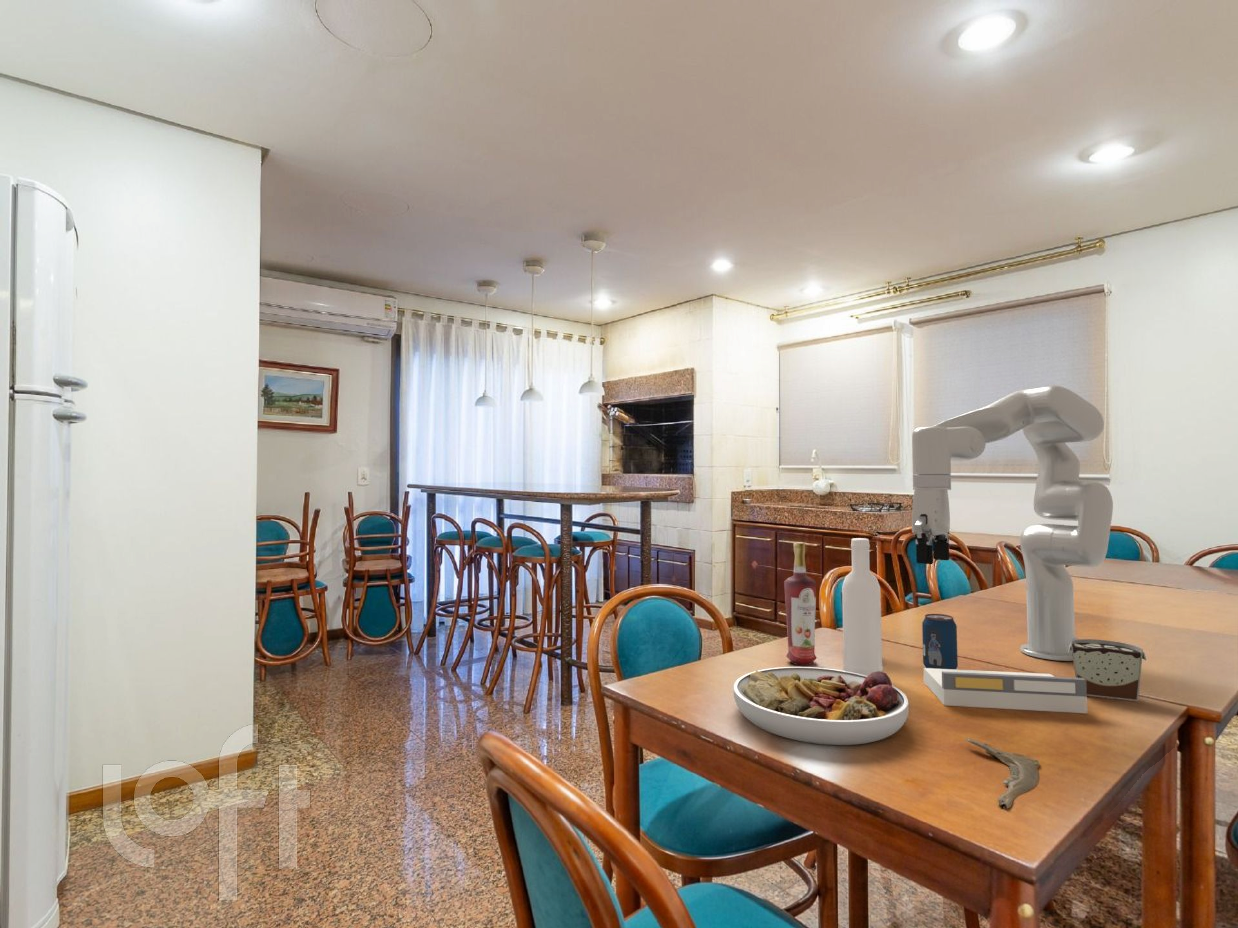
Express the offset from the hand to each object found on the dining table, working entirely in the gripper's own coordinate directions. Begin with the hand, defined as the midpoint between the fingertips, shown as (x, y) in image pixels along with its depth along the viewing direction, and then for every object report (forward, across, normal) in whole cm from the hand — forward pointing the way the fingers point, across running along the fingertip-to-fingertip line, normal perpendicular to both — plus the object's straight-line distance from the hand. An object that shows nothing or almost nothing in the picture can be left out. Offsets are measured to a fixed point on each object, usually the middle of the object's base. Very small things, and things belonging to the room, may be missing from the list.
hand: (933, 561), depth 138 cm
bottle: (+25, +12, -11) cm, 30 cm away
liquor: (+25, +10, -26) cm, 38 cm away
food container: (+25, -12, +28) cm, 39 cm away
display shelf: (+25, +5, +14) cm, 29 cm away
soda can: (+25, -6, -1) cm, 26 cm away
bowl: (+26, +39, -7) cm, 47 cm away
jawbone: (+26, +43, +22) cm, 55 cm away
